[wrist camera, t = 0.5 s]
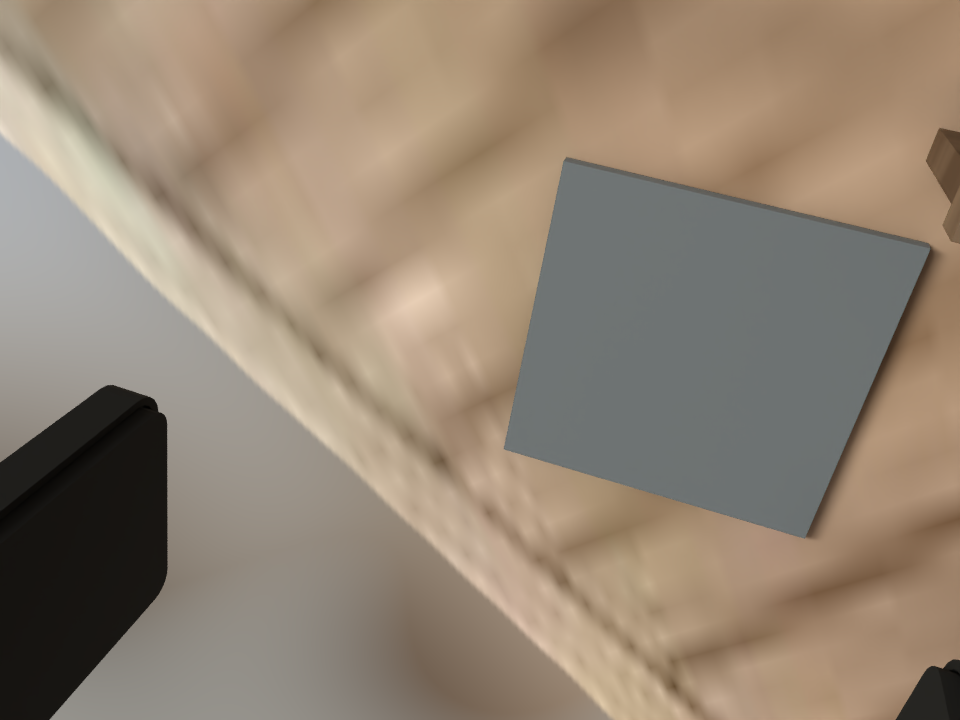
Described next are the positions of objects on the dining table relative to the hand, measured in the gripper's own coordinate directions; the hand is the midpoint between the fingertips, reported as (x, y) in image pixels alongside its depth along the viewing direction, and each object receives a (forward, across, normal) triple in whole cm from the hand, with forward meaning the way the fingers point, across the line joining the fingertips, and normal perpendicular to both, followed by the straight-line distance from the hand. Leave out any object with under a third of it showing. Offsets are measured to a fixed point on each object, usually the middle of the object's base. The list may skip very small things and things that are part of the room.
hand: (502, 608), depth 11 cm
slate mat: (+27, -3, +9) cm, 29 cm away
